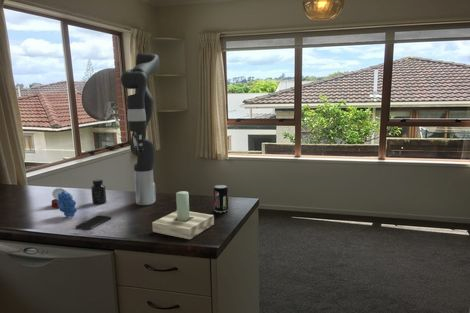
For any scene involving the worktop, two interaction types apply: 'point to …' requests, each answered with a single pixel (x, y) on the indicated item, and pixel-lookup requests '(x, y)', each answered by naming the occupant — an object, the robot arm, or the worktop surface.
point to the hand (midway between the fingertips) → (139, 157)
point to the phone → (93, 222)
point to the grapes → (66, 204)
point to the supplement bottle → (98, 192)
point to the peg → (182, 206)
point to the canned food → (56, 197)
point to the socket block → (183, 225)
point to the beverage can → (220, 198)
